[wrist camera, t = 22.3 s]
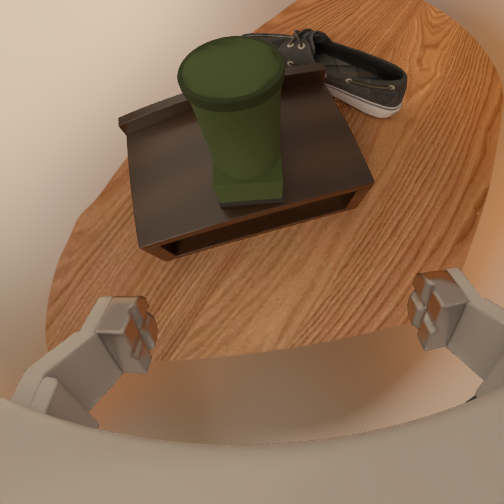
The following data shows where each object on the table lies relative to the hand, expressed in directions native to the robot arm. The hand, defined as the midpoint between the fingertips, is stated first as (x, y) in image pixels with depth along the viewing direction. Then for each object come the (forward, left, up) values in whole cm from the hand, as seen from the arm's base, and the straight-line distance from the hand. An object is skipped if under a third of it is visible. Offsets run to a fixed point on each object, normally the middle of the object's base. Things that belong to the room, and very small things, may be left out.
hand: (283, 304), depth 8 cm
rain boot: (+14, -1, -15) cm, 21 cm away
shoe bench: (+15, -1, -22) cm, 27 cm away
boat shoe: (+28, -14, -22) cm, 39 cm away
